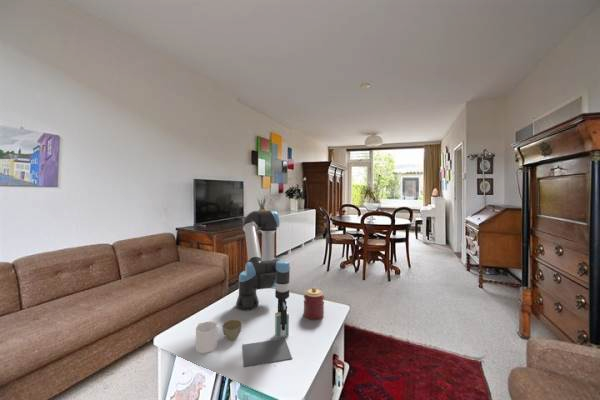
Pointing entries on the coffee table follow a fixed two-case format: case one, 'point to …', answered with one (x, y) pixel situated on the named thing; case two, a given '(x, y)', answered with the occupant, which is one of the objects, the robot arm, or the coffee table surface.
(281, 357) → the mat
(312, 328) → the coffee table surface
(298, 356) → the coffee table surface
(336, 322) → the coffee table surface
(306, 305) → the canister
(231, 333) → the flower pot
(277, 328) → the slab
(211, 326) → the mug
